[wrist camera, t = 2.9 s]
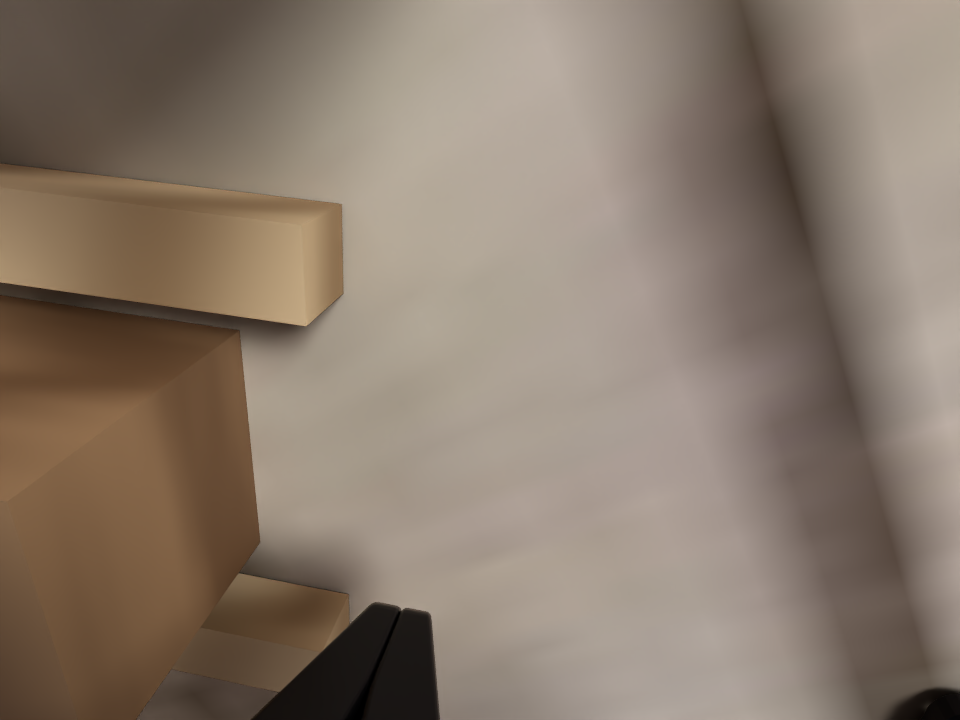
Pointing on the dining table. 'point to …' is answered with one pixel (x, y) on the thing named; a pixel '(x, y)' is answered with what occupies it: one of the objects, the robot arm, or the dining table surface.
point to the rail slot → (203, 287)
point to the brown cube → (114, 502)
